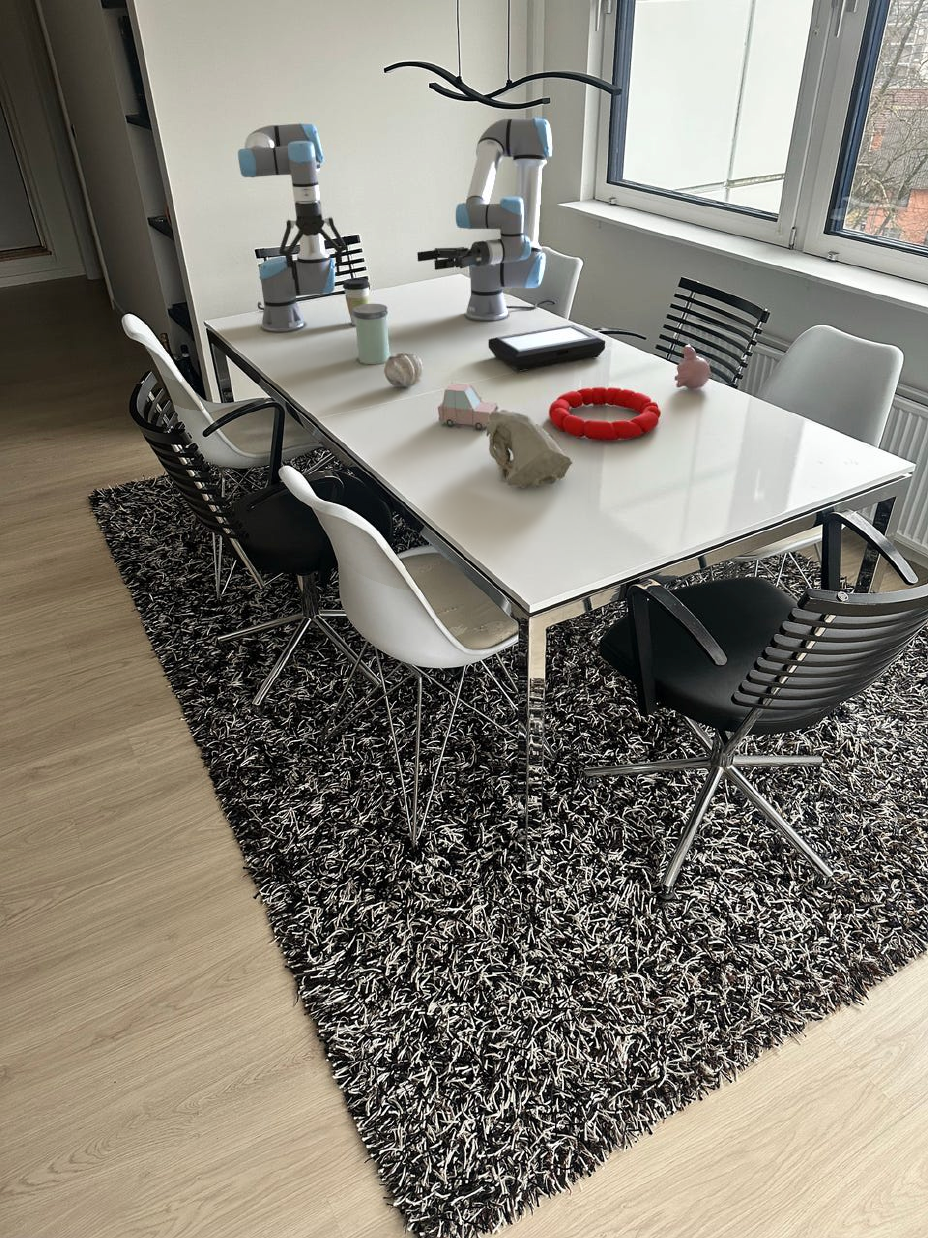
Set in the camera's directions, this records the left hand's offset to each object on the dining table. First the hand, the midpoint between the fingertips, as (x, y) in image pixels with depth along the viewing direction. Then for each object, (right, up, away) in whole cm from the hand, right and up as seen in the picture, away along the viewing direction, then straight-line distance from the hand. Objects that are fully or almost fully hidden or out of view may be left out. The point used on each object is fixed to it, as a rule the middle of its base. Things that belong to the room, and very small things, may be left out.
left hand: (316, 276), depth 273 cm
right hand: (+33, +9, +11) cm, 36 cm away
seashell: (+28, -34, -1) cm, 44 cm away
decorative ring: (+84, -51, -29) cm, 102 cm away
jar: (+16, -19, +21) cm, 32 cm away
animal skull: (+59, -68, -53) cm, 105 cm away
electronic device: (+72, -20, +17) cm, 77 cm away
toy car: (+47, -51, -27) cm, 74 cm away
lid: (+15, -6, +11) cm, 20 cm away
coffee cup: (+7, +4, +54) cm, 55 cm away
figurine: (+112, -37, -10) cm, 118 cm away
